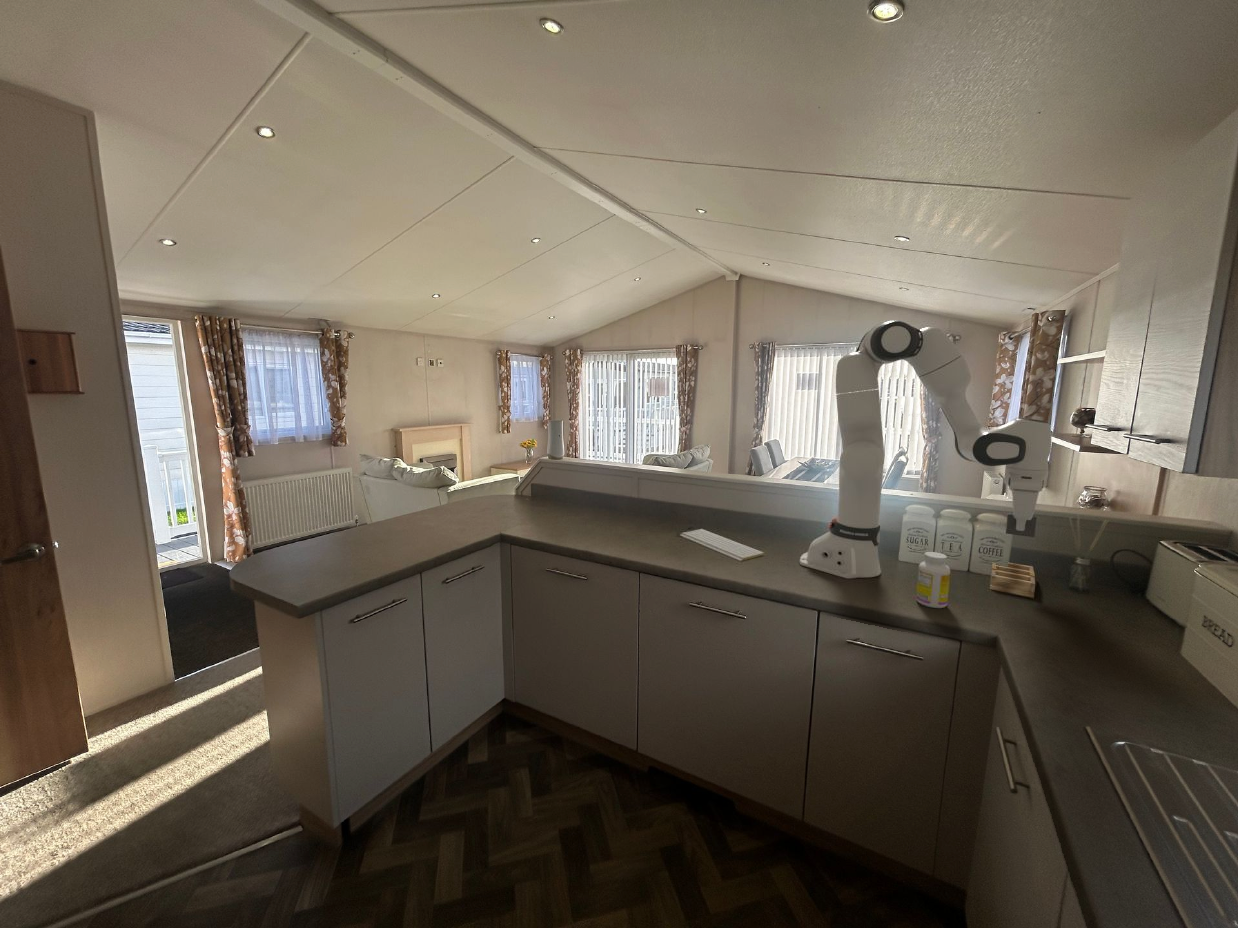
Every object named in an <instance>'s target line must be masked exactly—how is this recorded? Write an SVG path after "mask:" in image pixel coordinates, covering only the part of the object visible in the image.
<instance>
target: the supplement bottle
mask: <svg viewBox="0 0 1238 928" xmlns="http://www.w3.org/2000/svg"><path fill="white" fill-rule="evenodd" d="M923 558H924V561H921V563H919V565H918V575H917V585H916V595H915V596H916V597H915V599H916V601H917V602H918V603H919V604H920V605H923V606H924V607H928V608H934V609H942V608H943V609H944V608H946V607H947V606H948V598H949V591H950V580H951V579H950V578H951V569H950V567H949V566H948V565H946V563H947V561H948V556H947V555H946V554H944V553H942V552H936V551H926V552H924V556H923Z"/></svg>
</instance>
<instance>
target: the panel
mask: <svg viewBox="0 0 1238 928" xmlns="http://www.w3.org/2000/svg"><path fill="white" fill-rule="evenodd" d="M1037 519H1038V518H1037V515H1034V514H1033V517H1032V519H1031V520H1026V524H1025V530H1024V531H1019V530H1016V518H1014V515H1013V512H1009V511H1008V512H1007V517H1006V525H1005V526H1006V527H1005V534H1007V535H1014V536H1021V537H1028V538H1029V537H1030V538H1035V533H1036V526H1037V525H1036V524H1037Z"/></svg>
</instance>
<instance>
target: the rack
mask: <svg viewBox="0 0 1238 928" xmlns="http://www.w3.org/2000/svg"><path fill="white" fill-rule="evenodd" d="M1035 577H1036V575H1035V571H1034V566H1033V565H1024V564H1019V563H1013V562H1008V567H1004V566H998V565H996V563H993V562H992V566H991V574H990V586H989V589H990V590H991V591H992V590H993V591H997V592H1002V593H1007V594H1013V595H1016V596H1017V595H1018V596H1022V597H1027V598H1031V599H1032V598H1033V599H1034V597H1035V589H1036V580H1035Z"/></svg>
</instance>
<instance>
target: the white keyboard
mask: <svg viewBox="0 0 1238 928" xmlns="http://www.w3.org/2000/svg"><path fill="white" fill-rule="evenodd" d="M699 528H700V527H697V529H695V527H694V528H693V526H692V527H688V528H687V531H686V532H683V531H685V529H684V530H683V529H682V532H681V533H680V532H678V533H677V536H678V537H682V538H685V539H687V540H689V541H692V542H694V543H695V544H697V545H700V546H704V547H706V548H708V549H710V550H713V551H715V552H717V553H720V554H722V555H724V556H727V557H729V558H732V559H734V560H737V561H739V562H742V561H747V560H751V559H755V558H758V557H761V556H765V555H764V554H765V552H763V551H760V550H759V549H755V548H752V547H750V546H748V545H745V544H742V543H740V542H737V541H734V540H732V539H730V538H726V537H724V536H721V535H719V534H716V533H714V532H711V531H708V530H706V529H703V528H700V529H699ZM691 529H692V530H691ZM693 529H695V530H693ZM689 530H690V531H689Z"/></svg>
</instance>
